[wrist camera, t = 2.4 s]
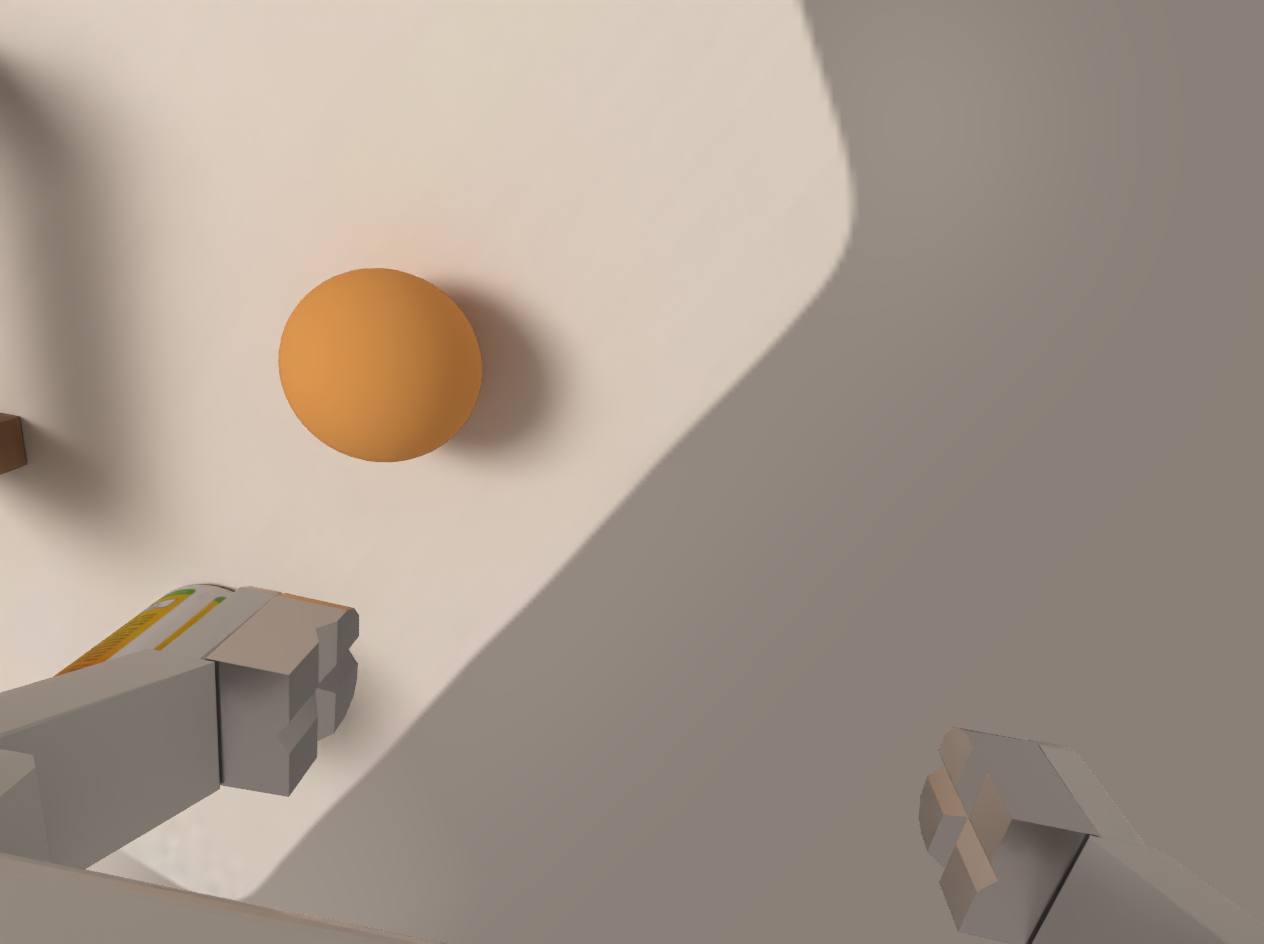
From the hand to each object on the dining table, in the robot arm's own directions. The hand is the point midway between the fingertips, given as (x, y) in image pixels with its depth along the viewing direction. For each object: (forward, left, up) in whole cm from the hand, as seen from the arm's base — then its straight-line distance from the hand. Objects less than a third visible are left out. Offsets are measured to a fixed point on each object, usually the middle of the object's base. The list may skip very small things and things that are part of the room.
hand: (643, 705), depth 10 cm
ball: (0, -9, -13) cm, 16 cm away
